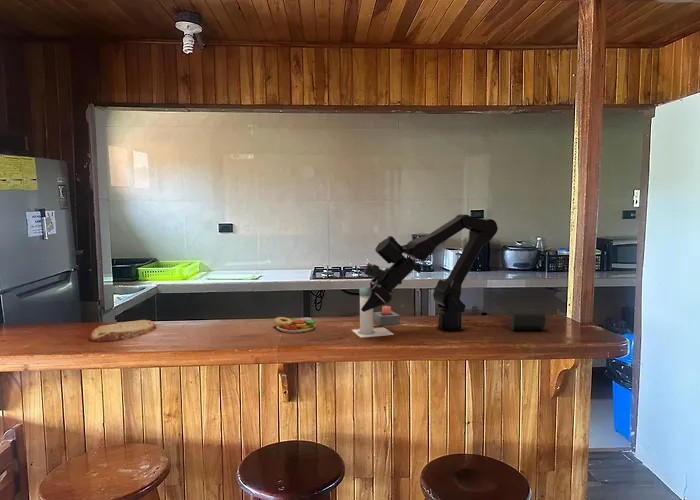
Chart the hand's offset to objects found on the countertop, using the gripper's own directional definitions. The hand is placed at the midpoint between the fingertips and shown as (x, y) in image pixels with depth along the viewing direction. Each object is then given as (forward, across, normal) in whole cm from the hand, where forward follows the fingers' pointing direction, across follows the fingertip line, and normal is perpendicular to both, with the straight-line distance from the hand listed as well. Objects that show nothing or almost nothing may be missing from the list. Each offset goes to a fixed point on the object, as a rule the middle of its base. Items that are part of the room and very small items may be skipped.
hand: (362, 307), depth 156 cm
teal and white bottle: (+5, 0, +7) cm, 8 cm away
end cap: (-32, -5, +44) cm, 54 cm away
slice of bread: (+59, +1, -47) cm, 76 cm away
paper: (+4, -1, +8) cm, 9 cm away
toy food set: (+22, -6, -9) cm, 24 cm away
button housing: (0, -14, +12) cm, 18 cm away
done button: (-1, -14, +11) cm, 18 cm away
